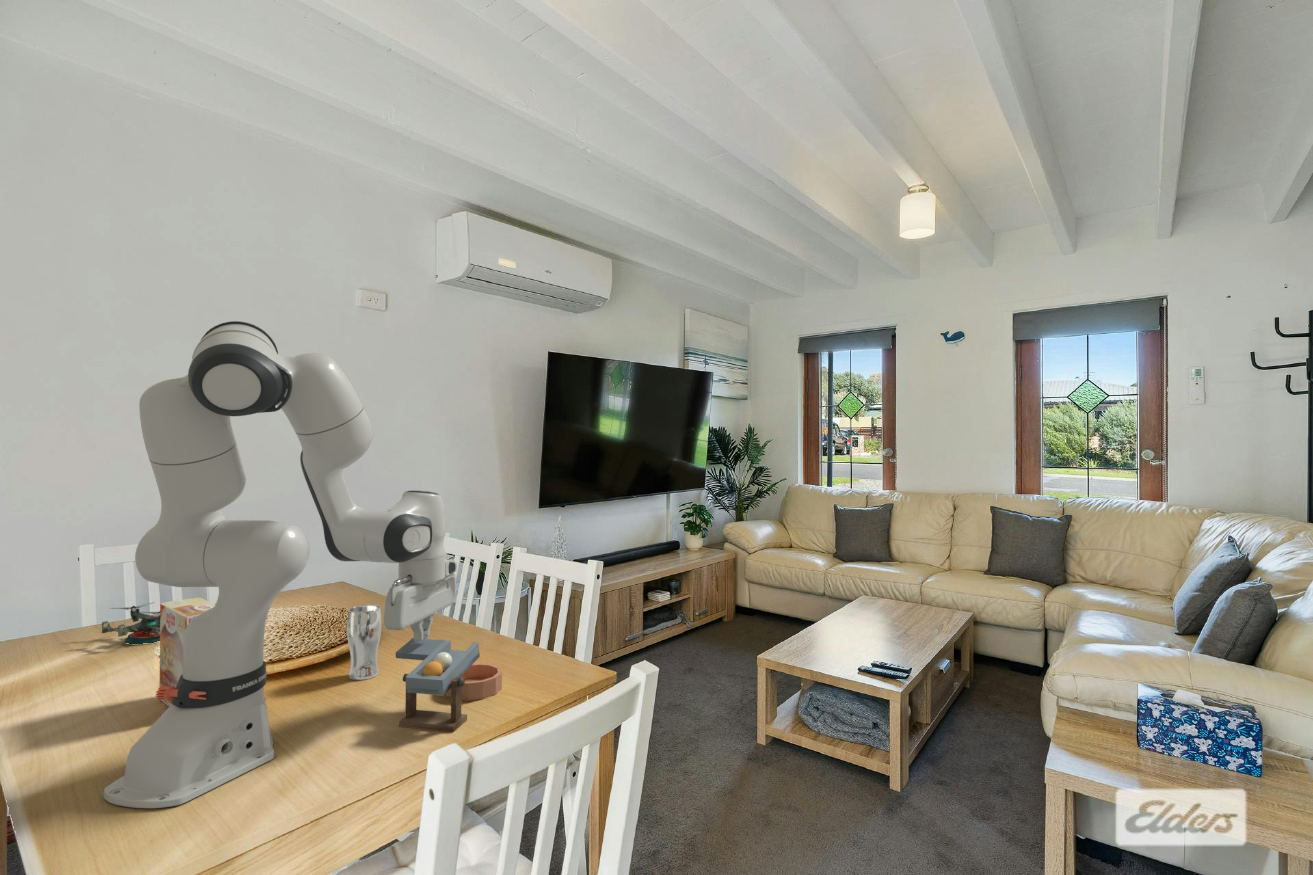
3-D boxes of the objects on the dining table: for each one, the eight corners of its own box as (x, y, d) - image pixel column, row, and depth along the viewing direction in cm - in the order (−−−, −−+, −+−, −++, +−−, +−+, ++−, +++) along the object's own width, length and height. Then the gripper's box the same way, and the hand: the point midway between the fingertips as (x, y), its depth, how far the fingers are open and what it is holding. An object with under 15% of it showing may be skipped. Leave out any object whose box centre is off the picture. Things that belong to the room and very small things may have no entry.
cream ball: (447, 675, 116) (445, 659, 115) (430, 674, 117) (428, 657, 116) (456, 665, 119) (454, 649, 119) (439, 664, 120) (437, 647, 119)
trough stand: (455, 731, 111) (456, 683, 111) (396, 726, 113) (397, 678, 113) (469, 719, 116) (469, 673, 116) (412, 714, 118) (412, 669, 118)
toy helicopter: (199, 636, 164) (199, 605, 165) (132, 655, 150) (133, 620, 150) (153, 628, 172) (153, 598, 172) (85, 644, 158) (86, 611, 158)
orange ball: (437, 685, 112) (435, 668, 112) (419, 684, 113) (418, 666, 113) (446, 675, 116) (445, 658, 115) (430, 674, 117) (428, 657, 116)
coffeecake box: (157, 699, 124) (158, 602, 125) (199, 688, 130) (200, 596, 130) (181, 719, 115) (183, 615, 116) (225, 706, 121) (227, 607, 121)
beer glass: (386, 670, 141) (387, 604, 141) (369, 681, 134) (370, 612, 134) (358, 668, 142) (358, 603, 142) (339, 680, 135) (340, 611, 135)
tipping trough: (444, 695, 111) (442, 680, 111) (371, 689, 114) (369, 674, 113) (479, 656, 125) (478, 642, 124) (413, 651, 127) (412, 637, 127)
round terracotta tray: (486, 702, 124) (486, 684, 124) (436, 697, 126) (436, 680, 126) (509, 681, 135) (509, 665, 135) (462, 677, 137) (463, 661, 137)
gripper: (405, 582, 113) (405, 658, 113) (461, 561, 133) (461, 625, 133) (375, 581, 114) (374, 655, 114) (435, 560, 134) (434, 623, 134)
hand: (421, 639), depth 124 cm, fingers closed
